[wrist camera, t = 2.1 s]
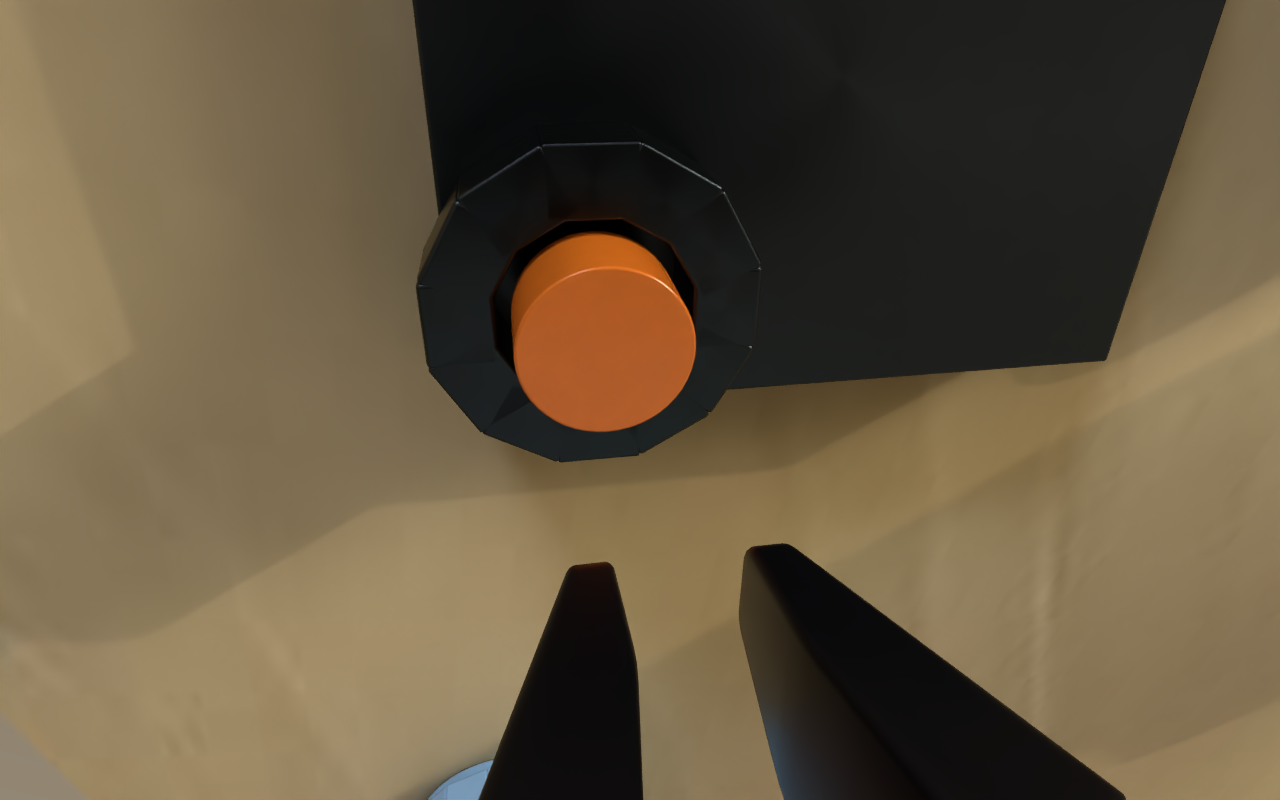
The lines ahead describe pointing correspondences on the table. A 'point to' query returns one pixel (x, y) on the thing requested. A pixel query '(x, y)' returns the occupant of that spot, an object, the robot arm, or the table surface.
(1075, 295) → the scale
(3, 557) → the table surface
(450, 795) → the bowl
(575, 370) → the button
